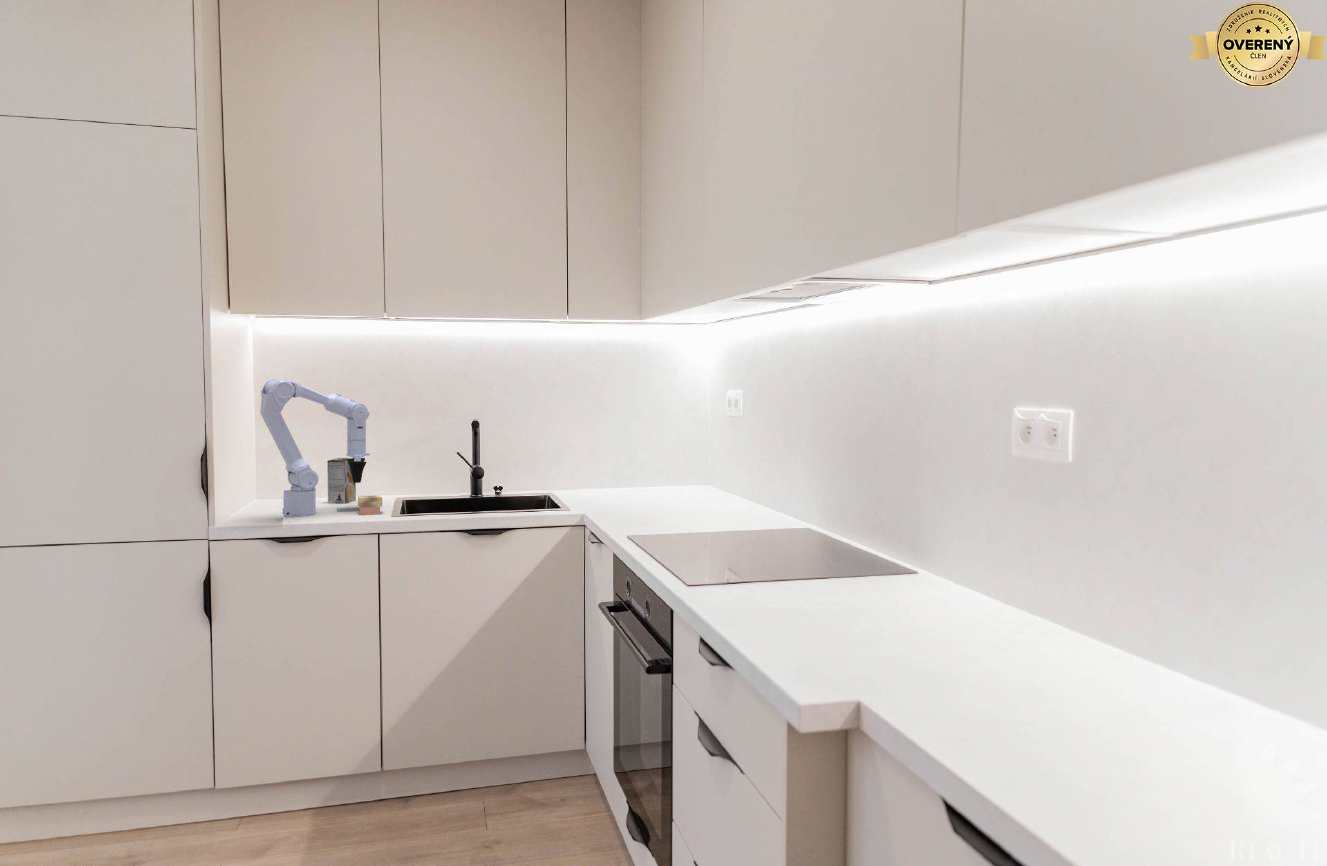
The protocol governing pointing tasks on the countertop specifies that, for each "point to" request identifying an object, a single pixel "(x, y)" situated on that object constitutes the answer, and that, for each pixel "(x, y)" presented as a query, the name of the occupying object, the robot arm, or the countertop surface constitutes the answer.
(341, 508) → the mat
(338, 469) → the coffee box
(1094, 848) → the countertop surface
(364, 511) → the pink square tray
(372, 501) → the tan rectangular block
